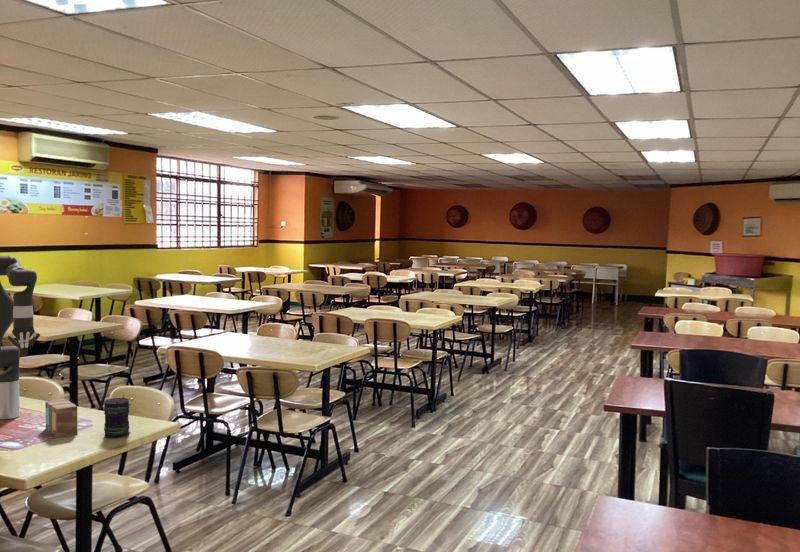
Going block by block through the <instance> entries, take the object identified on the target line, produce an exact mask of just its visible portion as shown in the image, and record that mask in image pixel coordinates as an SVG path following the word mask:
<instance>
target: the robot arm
mask: <svg viewBox="0 0 800 552" xmlns="http://www.w3.org/2000/svg"><path fill="white" fill-rule="evenodd" d="M0 276H3V277H4V276H7V278H8V279H7V280H8V282H9V283H8V284H9V285H10V286H13V287H25V289H24V290H21V291H16V292H14V293H13V298H12V296H10V295H9V293H8V292H7V291H6V289H5V288H4V286H3V284H2V281H0V367H1V368H2V367H9V368H8V369H6V370H4V371H3V372H1V373H0V420H10V419H11V420H12V419H15V418H18V417H20V415H21V414H20V411H21V410H20V356H21V357H27V356H28V355H29V347H31V346H34V344H35V343H36V341H37V340H38V339H39V338H40V337H41V334H40V333H39V332H36V330H35V328H34V315H35V314H34V308H33V305H34V304H33V295H34V290H35V287H36V284H37V279H38V275H37V272H36V271H35V270H34V269H25V268H24V267H23V266H22V265H21V263H20V261H19V259H18V258H17V257H16V256H14V255H0ZM11 325H13V326H12V331H11V332H10V334H9V335H6V338H7V340H9V342H11V344H12V345H8V346H7V345H5V346H2V342H3V338H4V336H5V334H6V332H7V331H8V330H9V328H10V327H11ZM14 338H16V340H18V341H17V342H16V340H15V339H14ZM30 339H31V340H30Z"/></svg>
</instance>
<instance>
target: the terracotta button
mask: <svg viewBox="0 0 800 552" xmlns="http://www.w3.org/2000/svg"><path fill="white" fill-rule="evenodd" d="M52 429H53V430H55V431H56V413H55V412H52Z"/></svg>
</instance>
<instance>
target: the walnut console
mask: <svg viewBox="0 0 800 552" xmlns="http://www.w3.org/2000/svg"><path fill="white" fill-rule="evenodd" d="M44 403H45V408H44V409H45V410H46V407H48V408H49V409H50V426H48V425H47V424H46V423H45V429H46V430H47V431H48V430H49V431H48V432H49V433H50V434H52V435H53V434H54V435H53V436H55V437H56V438H60V437H61V438H62V437H67V435H68V436H72V435H73V434H74V435H78V433H79V432H78V406H77V405H76V404H75V403H73V402H71V401H70V400H68V399H67V398H62V399H61V398H59V399H52V400H48V401H45V402H44ZM52 412H55V413H56V431H55V430H53V429H52Z"/></svg>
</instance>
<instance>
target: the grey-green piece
mask: <svg viewBox="0 0 800 552" xmlns="http://www.w3.org/2000/svg"><path fill="white" fill-rule="evenodd" d="M46 424H47V425H48V426H50V409H49V408H48V407H46V409H45V425H46Z"/></svg>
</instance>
